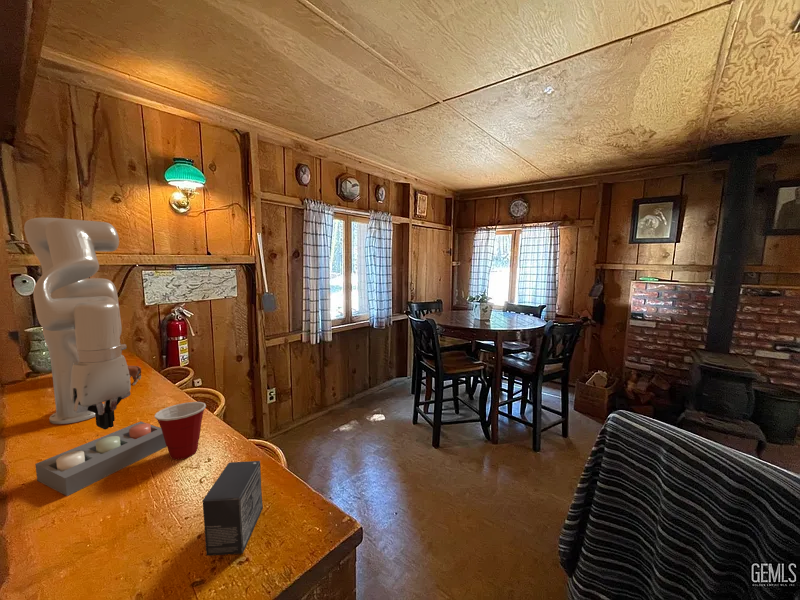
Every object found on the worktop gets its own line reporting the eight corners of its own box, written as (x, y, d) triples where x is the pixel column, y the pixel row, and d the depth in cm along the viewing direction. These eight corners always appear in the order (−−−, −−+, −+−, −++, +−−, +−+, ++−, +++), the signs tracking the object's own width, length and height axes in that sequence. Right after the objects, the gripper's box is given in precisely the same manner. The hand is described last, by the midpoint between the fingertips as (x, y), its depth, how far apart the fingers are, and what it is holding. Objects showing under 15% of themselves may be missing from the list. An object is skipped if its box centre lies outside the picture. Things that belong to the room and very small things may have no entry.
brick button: (126, 447, 85) (125, 429, 85) (145, 438, 89) (143, 422, 89) (137, 451, 84) (135, 433, 83) (155, 442, 88) (154, 425, 87)
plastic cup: (202, 436, 92) (199, 395, 90) (213, 453, 84) (211, 408, 83) (154, 452, 84) (150, 407, 83) (162, 472, 77) (158, 423, 75)
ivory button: (54, 479, 72) (51, 459, 72) (79, 468, 77) (77, 449, 76) (65, 485, 71) (62, 464, 70) (90, 473, 75) (88, 453, 74)
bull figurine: (117, 379, 133) (116, 359, 132) (145, 382, 130) (144, 362, 129) (106, 383, 129) (104, 363, 128) (134, 386, 126) (132, 365, 125)
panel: (37, 480, 73) (35, 463, 72) (141, 434, 92) (140, 421, 92) (67, 496, 68) (65, 478, 68) (170, 444, 88) (169, 430, 87)
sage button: (93, 462, 79) (91, 443, 78) (114, 452, 83) (113, 434, 82) (104, 466, 77) (102, 447, 77) (125, 456, 81) (124, 438, 81)
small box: (230, 509, 66) (227, 460, 64) (263, 508, 66) (262, 459, 65) (203, 557, 55) (199, 499, 54) (243, 554, 56) (241, 497, 55)
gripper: (126, 344, 85) (131, 410, 88) (48, 360, 72) (56, 438, 74) (144, 348, 83) (149, 416, 85) (67, 366, 69) (75, 447, 71)
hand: (105, 426), depth 80 cm, fingers closed
